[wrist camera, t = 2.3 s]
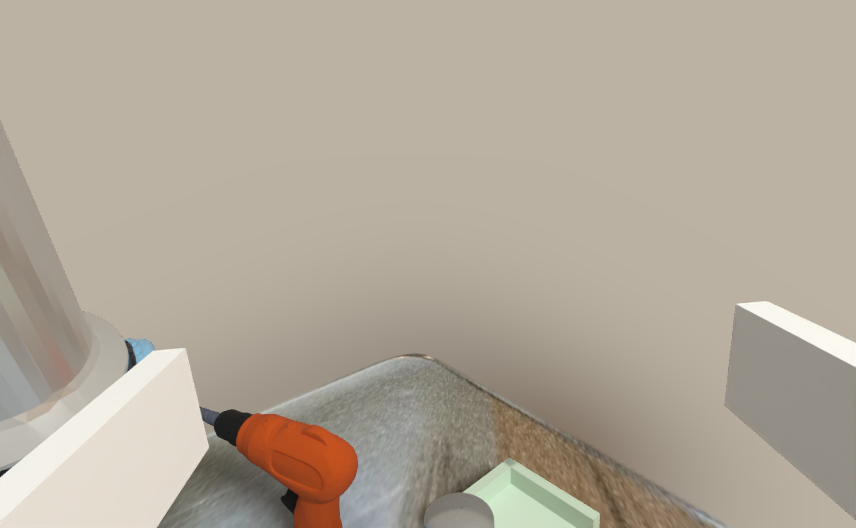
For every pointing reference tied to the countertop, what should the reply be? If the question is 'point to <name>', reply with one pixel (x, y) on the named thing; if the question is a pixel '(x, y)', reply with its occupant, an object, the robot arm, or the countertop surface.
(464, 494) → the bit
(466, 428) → the countertop surface
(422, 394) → the countertop surface
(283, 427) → the toy drill
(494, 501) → the pale green flat tray
